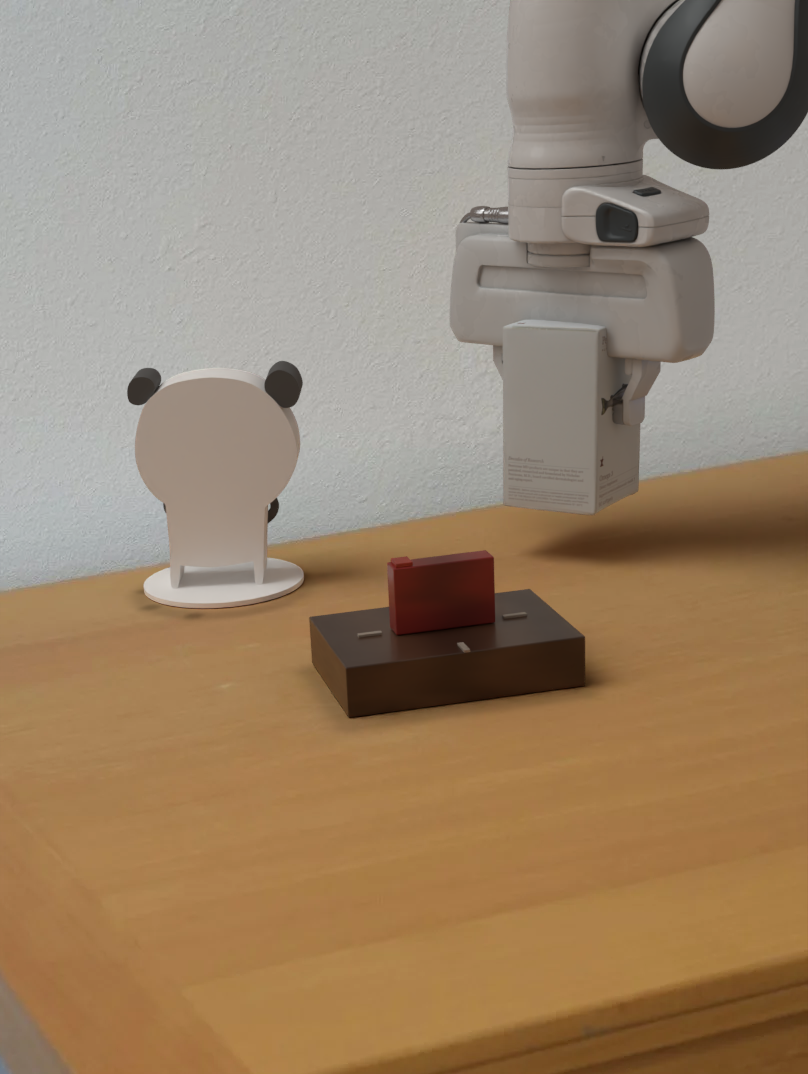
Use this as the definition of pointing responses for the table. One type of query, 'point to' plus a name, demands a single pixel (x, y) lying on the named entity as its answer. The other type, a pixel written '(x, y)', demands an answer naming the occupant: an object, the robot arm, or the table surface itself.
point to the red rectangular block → (441, 592)
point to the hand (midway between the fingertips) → (574, 416)
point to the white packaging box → (564, 420)
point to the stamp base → (446, 657)
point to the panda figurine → (218, 479)
